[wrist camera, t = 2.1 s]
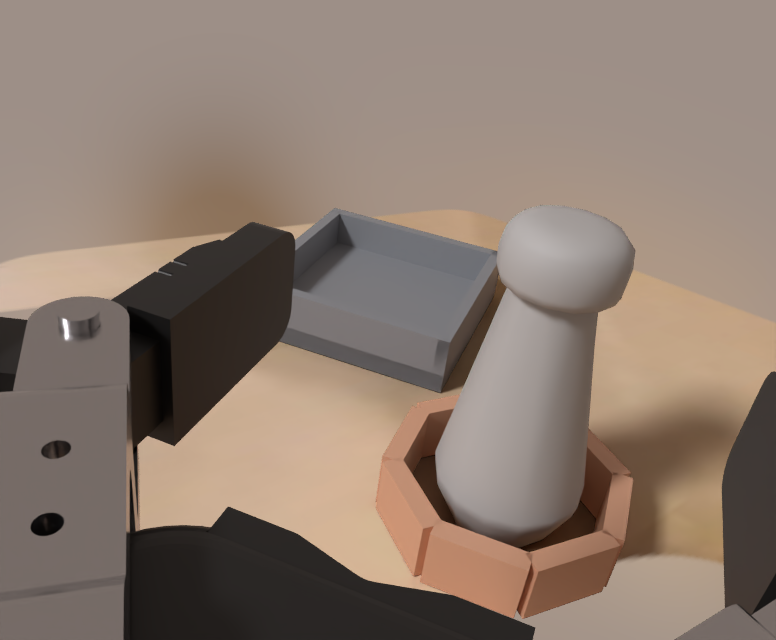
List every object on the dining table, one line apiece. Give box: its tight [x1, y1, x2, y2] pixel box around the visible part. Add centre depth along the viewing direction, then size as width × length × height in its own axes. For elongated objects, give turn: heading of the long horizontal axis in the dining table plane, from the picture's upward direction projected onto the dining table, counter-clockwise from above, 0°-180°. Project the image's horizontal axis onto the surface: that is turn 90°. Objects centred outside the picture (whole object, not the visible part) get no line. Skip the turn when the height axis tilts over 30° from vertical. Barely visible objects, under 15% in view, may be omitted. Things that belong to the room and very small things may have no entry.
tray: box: [280, 208, 499, 393], centre depth 42 cm, size 11×11×3 cm
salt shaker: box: [435, 205, 635, 548], centre depth 27 cm, size 6×6×13 cm
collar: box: [376, 395, 633, 619], centre depth 30 cm, size 9×9×2 cm
